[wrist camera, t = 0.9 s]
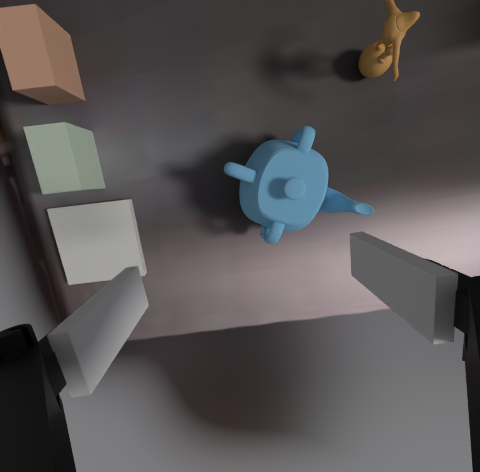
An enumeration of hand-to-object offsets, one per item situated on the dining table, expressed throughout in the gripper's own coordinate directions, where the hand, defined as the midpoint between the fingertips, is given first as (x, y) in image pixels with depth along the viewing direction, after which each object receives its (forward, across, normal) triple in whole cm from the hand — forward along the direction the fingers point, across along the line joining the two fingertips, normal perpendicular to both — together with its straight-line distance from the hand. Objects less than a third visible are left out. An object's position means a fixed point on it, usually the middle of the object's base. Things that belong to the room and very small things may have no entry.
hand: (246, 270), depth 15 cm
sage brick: (+24, -22, +11) cm, 34 cm away
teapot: (+24, +7, +3) cm, 25 cm away
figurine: (+24, +20, +17) cm, 36 cm away
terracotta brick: (+24, -21, +23) cm, 39 cm away
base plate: (+24, -22, -1) cm, 32 cm away
